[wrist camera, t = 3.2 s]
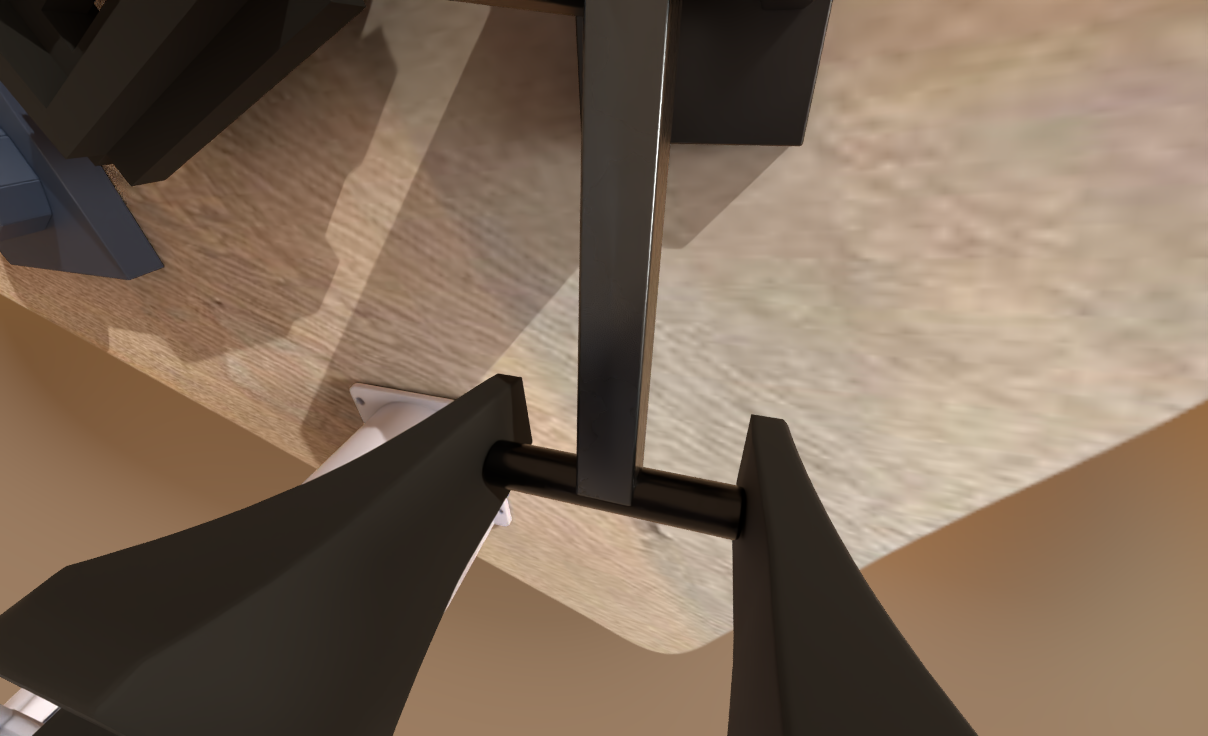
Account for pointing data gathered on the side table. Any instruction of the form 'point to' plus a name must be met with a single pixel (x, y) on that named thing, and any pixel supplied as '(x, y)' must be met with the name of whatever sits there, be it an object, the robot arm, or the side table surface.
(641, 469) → the switch lever
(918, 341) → the side table surface
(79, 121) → the tool
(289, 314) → the side table surface
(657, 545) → the side table surface
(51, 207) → the button box
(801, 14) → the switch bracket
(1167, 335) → the side table surface
